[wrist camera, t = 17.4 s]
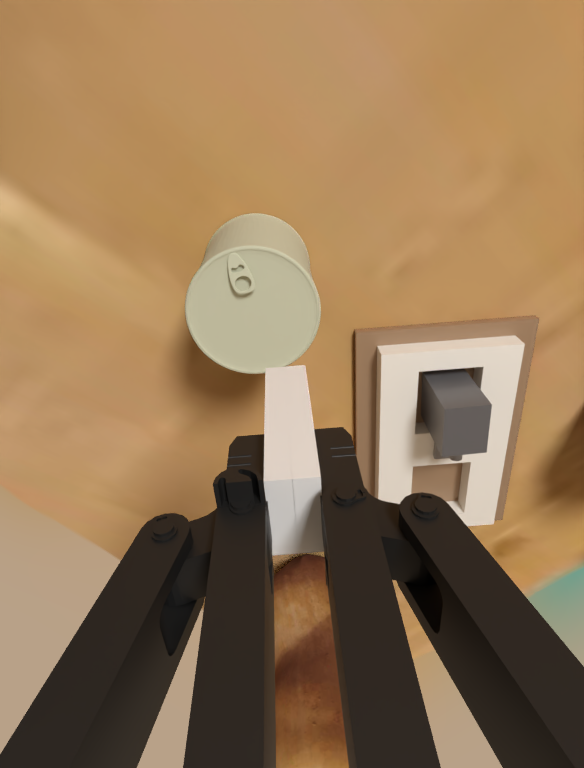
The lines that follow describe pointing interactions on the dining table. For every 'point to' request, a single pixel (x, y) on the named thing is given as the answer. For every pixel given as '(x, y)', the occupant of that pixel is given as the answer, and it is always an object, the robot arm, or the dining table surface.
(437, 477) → the socket board
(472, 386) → the plug
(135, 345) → the dining table surface
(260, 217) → the can
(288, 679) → the butternut squash
